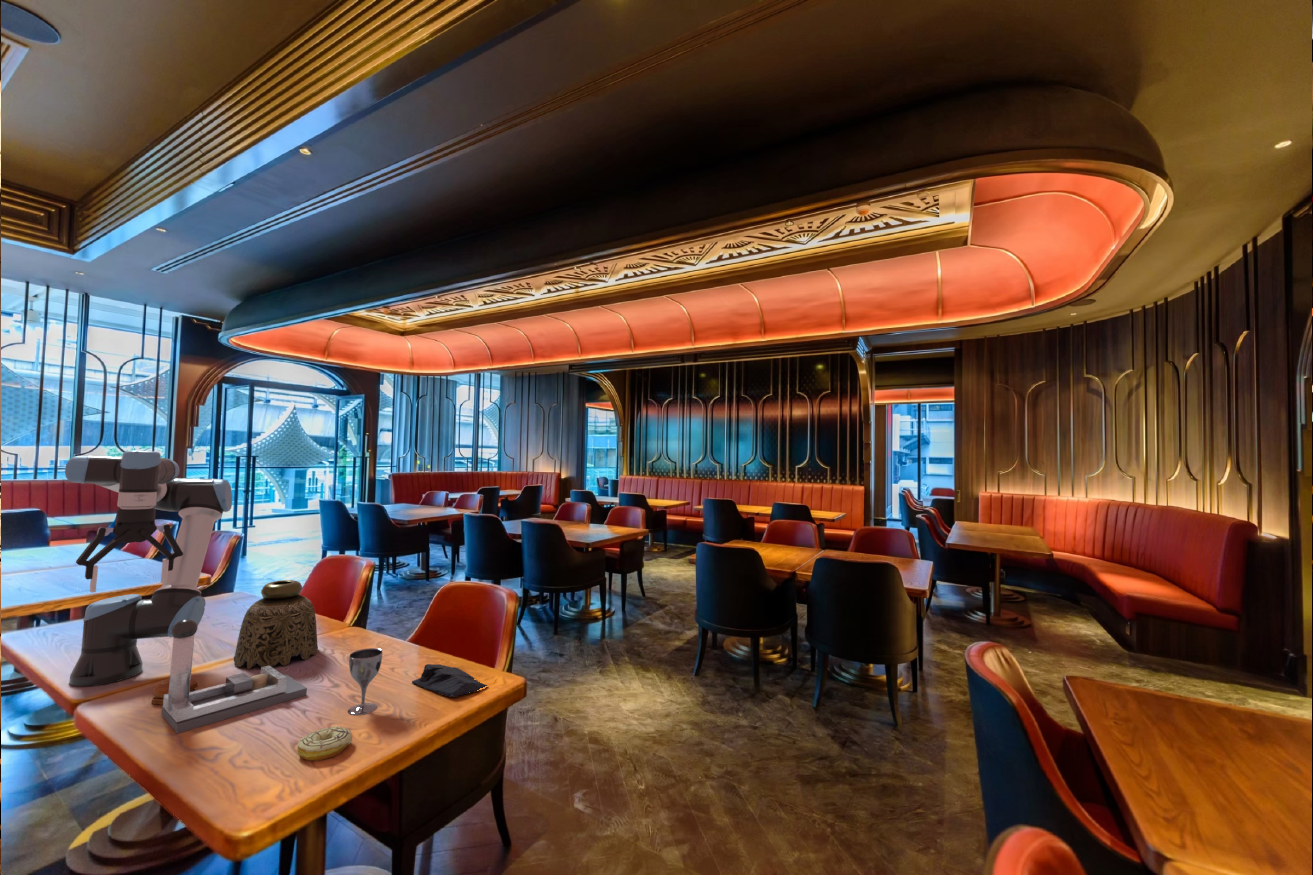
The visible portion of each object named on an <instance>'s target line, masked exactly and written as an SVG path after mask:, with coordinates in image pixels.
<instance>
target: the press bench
mask: <svg viewBox="0 0 1313 875" xmlns="http://www.w3.org/2000/svg"><path fill="white" fill-rule="evenodd" d="M283 675H284V676H286V677H287V678H286V691H285V692H282V693H279V694H275V695H272V696H268V697H265V698H261V699H258V700H254V701H251V702H247V703H244V704H240V705H237V706H233V707H230V708H226V709H223V710H219V711H216V712H212V713H209V714H205V715H201V716H198V717H194V718H191V719H187V720H184V721H180V722H176V721H175V720H174V719H173V718H172V717H171V716H170V714H169V713H168V712H167V711H166V710H165V709H164V707H163V706H161V711H160V713H161V714H160V715H161V716H162V718H163V719H164V720H165V721H166V722H167V723H168V725H169V726H170V727H171V729H173V731H174V732H175V733H176V734H179V733H184V732H186V731H191V730H194V729H197V728H200V727H204V726H208V725H210V724H214V723H217V722H221V721H224V720H226V719H227V720H228V719H230V718H231V719H232V718H233V717H237V716H241V715H245V714H248V713H251V712H254V711H257V710H260V709H264V708H265V709H266V708H267V707H271V706H275V705H278V704H281V703H284V702H288V701H292V700H295V699H298V698H302V697H304V696H307V692H308V688H307V687H306V686H305V685H303V684H302V683H300V682H299V681H298V680H295V679H294V678H293V677H291V676H290V675H288V674H287V673H286V674H283ZM224 698H227V697H225V693H224V694H220V695H216V696H212V697H209V698H205V699H201V700H197V701H193V702H190V703H191V704H192V705H193V706H198V705H202V704H205V703H209V702H213V701H216V700H220V699H224Z"/></svg>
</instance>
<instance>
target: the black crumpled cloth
mask: <svg viewBox="0 0 1313 875" xmlns="http://www.w3.org/2000/svg"><path fill="white" fill-rule="evenodd" d="M474 679H476V678H475V677H474V676H472V675H470V674H469V673H468V672H466V671H464V670H463V669H460V668H459V667H456V666H454V667H452V666H447V665H444V664H440V663H439V664H436V663H435V664H432V663H431V664H430V663H428V664H427V663H426V664H425V665H424V668H423V671H422V673H421V676H420V677H419V678H416V679H414V680H412V681H411V684H413V685H417V686H419V687H420V688H422V689H425V690H427V691H432V692H434V693H437V694H438V693H440V694H439V695H442V694H443V695H442V696H444V695H446V696H445V697H448V696H450V697H451V698H456V696H457V697H460V696H462V695H463V696H464V695H467V694H470V693H469V692H472V693H475V692H474V691H477V690H479V689H480V688H483V687H485V686H488V685H487V684H484V683H483V682H481V681H479V680H477V679H476V680H474ZM478 681H479V682H478ZM480 682H481V683H480ZM477 692H478V691H477ZM459 695H460V696H459ZM450 697H449V698H450Z"/></svg>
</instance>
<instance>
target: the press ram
mask: <svg viewBox="0 0 1313 875" xmlns="http://www.w3.org/2000/svg"><path fill="white" fill-rule="evenodd" d="M198 626H199V625H198ZM198 626H197V623H196V622H195V621H193V620H190V619H185V620H181V621H179V622H177V623H176V624H175V625H174V626H173V628H172V630H171V634H172V636H173V637H172V638H173V639H172V647H171V648H172V650H171V658H170V659H171V661H170V662H171V663H170V670H169V672H170V673H169V680H170V682H169V694H165V695H164V699H163V705H162V707H164V709H165V710H166V711H167V712H168V713H169V714H170V716H171V717H172V718H173V719H174V720H175V721H176V722H180V721H184V720H187V719H191V718H194V717H198V716H201V715H205V714H209V713H212V712H216V711H219V710H223V709H226V708H230V707H233V706H237V705H240V704H244V703H247V702H251V701H254V700H258V699H261V698H265V697H268V696H272V695H275V694H279V693H282V692H285V691H286V678H287V677H286V676H284V675H285V674H283V673H281V672H279V671H278V670H277V669H275V668H274V667H273V666H272V667H271V666H265V667H261V666H260V674H267V675H268V677H267V687H264V688H261V689H257V690H253V691H250V692H246V693H242V694H239V695H235V696H231V697H228V698H224V699H220V700H216V701H213V702H209V703H205V704H202V705H198V706H193V705H192V704H191V703H190V702H193V701H197V700H201V699H205V698H209V697H212V696H216V695H220V694H224V693H225V684H226V682H225V683H221V684H217V685H213V686H209V687H205V688H200V689H196V691H193V692H190V680H191V678H192V667H193V656H194V655H193V654H194V644H195V643H194V642H195V635H196V633H197V631H198Z"/></svg>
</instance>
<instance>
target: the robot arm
mask: <svg viewBox="0 0 1313 875" xmlns="http://www.w3.org/2000/svg"><path fill="white" fill-rule="evenodd" d="M121 456H122V457H121ZM121 456H97V455H94V456H93V455H90V454H89V455H77V456H76V455H75V456H71V458H69V459H68V461H67V462H66V465H65V467H64V474H65V475H64V476H65V478H66V479H67V481H68V482H70V483H75V484H76V483H77V484H94V485H97V486H100V487H102V488H105V489H108V490H109V491H110V490H111V491H112V492H116V493H118V495H117V497H118V498H117V505H116V506H117V507H118V509H117V510H116V517H115V525H114V526H113V527H104V526H99V527H97V531H96V535H95V536H94V537H93V539H92V540H91V541H90V542H89V544H88V545H87V546H86V547H85V549H84V550H83V551H82V552H81V554H80V555H79V557H78V558H77V559H76V561H75V563H76V564H77V565H79V566H84V567H85V572H84V573H85V575H84V578H85V580H90V581H89V582H90V583H89V592H90V593H91V594H92V593H97V592H96V591H97V584H98V583H97V581H98V572H99V571H98V570H99V566H98V565H96V564H97V563H98V562H100V561H101V560H102V559H103V558H105V557H106V556H107V555H108V554H109V553H110V552H112V551H113V550H114V549H115V548H116V547H118V546H120V544H122V543H125V544H132V543H143V542H145V541H147V542H148V543H149V544H150V545H152V546H153V547H154V548H155V549H156V550H158V551H159V552H160V553H161V554H162V555H163V556H164V557H165V558H162V564H161V574H160V577H161V578H160V583H161V587H159V588H156V589H155V590H154V591H153V592H152V596H151V598H148V599H142V595H141V594H139V593H137V594H135V593H133V594H124V595H119V596H113V597H109V598H103V599H101V600H97V601H94V602H92V603H90V604H89V605H88V606H87V607H86V609H85V614H84V618H83V620H82V621H83V625H82V626H83V628H82V638H81V651H80V655H79V657H78V659H77V661H76V663H75V665H74V667H73V668H72V671H71V673H70V675H69V680H68V681H69V685H70V686H75V687H91V686H98V685H106V684H110V683H111V684H112V683H115V682H119V681H122V680H125V679H126V680H127V679H129V678H131V677H134V676H136V675H138V674H139V673H141V672H142V671H143V664H144V663H143V660H142V657H141V654H140V652H139V648H138V647H137V643H138V642H137V641H138V640H140V639H141V640H143V639H156V638H173V636H172V634H171V630H172V628H173V626H174V625H175V624H176V623H177V622H179V621H181V620H185V619H190V620H193V621H195V622H196V623H197V626H199V625H200V624H201V621H202V619H203V617H204V614H205V610H206V608H205V607H206V603H207V602H206V598H205V597H203V596H202V591H200V590H199V588H198V583H199V581H200V577H201V573H202V569H203V566H204V562H205V558H206V555H207V551H208V548H209V545H210V544H209V543H210V540H211V537H212V532H213V529H214V527H215V526H214V524H215V522H216V521H219V520H220V519H222V517H223V513H227V512H230V511H231V509H232V506H233V491H232V487H231V483H229V481H228V480H227V479H221V478H219V479H218V478H188V477H187V478H182V477H179V474H180V467H179V465H178V463H177V462H176V461H174V460H173V459H170V458H167V457H161V456H162V454H161V453H160V452H159V451H151V450H146V451H145V450H127V451H124V452H123V454H122V455H121ZM157 510H159V511H166V512H176V513H177V512H178V516H179V517H180V518H181V519H182V520H181V523H180V526H179V529H178V532H177V536H176V539H175V537H174V536H173V534H172V532H171V525H170V524H168V523H163V524H160V525H156V513H157ZM157 530H158V531H159V533H162V534H163V536H164V537H165V539H166V541H167V543H168V545H169V546H170V547H171V549H172V552H171V551H170V550H168V549H167V548H166V547H165V546H163V545H162V543H160V542H159V541H158V540H157V539H156V538H155V537H153V534H155V532H156V531H157ZM110 533H113V534H114V535H115V536H116V537H114V538H113V539H111V540H110V542H109V543H108V544H107V545H105V546H104V547H103V548H102V549H100V550H99V551H98V552H97V553H95V554H94V556H92V557H91V558H90V556H91V555H92V554H93V553H94V551H95V549H96V548H97V547H98V546H99V545H100V544H101V542H102V541H103V540H104V538H105V537H107V536H109V534H110Z"/></svg>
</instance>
